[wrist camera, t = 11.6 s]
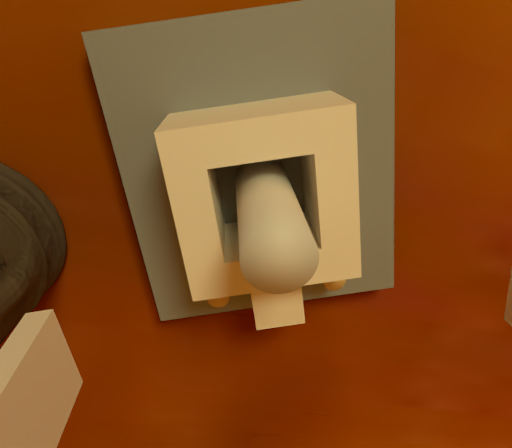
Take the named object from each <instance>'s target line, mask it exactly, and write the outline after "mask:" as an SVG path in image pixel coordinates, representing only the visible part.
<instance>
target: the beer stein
mask: <svg viewBox="0 0 512 448" xmlns="http://www.w3.org/2000/svg"><path fill="white" fill-rule="evenodd" d="M66 246H67V245H66V238H65V230H64V227H63V223H62V221H61V219H60V217H59V215H58V213H57V211H56V209H55V207H54V205H53V204H52V203H51V201H50V200H49V199H48V198H47V196H46V195H45V194H44V193H43V192H42V191H41V190H40V189H39V188H38V187H37V186H36V185H34V184H33V183H32V182H31V181H30V180H29V179H28V178H27V177H25V176H23V175H22V174H20V173H18V172H16V171H15V170H13V169H11V168H9V167H7V166H6V165H4V164H2V163H0V344H1V343H2V342H3V340H4V339H5V338H6V336H7V335H8V334H9V333H10V331H11V330H12V329H13V328H14V327H15V325H16V324H17V323H18V322H19V321H20V320H21V319H22V318H23V316H24V315H25V313H30V312H31V311H32V310H33V309H34V308H35V307H36V306H37V305H38V303H39V301H40V299H41V297H42V295H43V294H44V293H45V292H46V291H47V290H48V289H49V288H50V287H51V286H52V285H53V283H54V282H55V280H56V279H57V278H58V276H59V274H60V272H61V270H62V268H63V265H64V262H65V254H66Z"/></svg>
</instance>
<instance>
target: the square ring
mask: <svg viewBox="0 0 512 448" xmlns="http://www.w3.org/2000/svg"><path fill="white" fill-rule="evenodd" d="M154 135H155V139H156V144H157V148H158V152H159V157H160V161H161V166H162V170H163V174H164V179H165V183H166V187H167V192H168V196H169V200H170V205H171V209H172V213H173V218H174V222H175V226H176V231H177V235H178V239H179V244H180V248H181V252H182V257H183V261H184V265H185V270H186V274H187V278H188V283H189V287H190V291H191V296H192V300H193V302H194V301H201V300H208V299H215V298H222V297H229V296H236V295H243V294H250V293H251V299H252V305H253V311H254V317H255V323H256V330H261V329H268V328H275V327H282V326H289V325H296V324H303V323H305V316H304V306H303V296H302V287H301V288H299V289H297V290H295V291H292V292H289V293H284V294H270V293H266V292H263V291H260V290H258V289H256V288H255V287H253V286H252V285H251V284H250V283H248V281H247V280H246V279H245V277H244V276H243V274H242V271H241V268H240V260H239V240H238V222H234V223H227V224H225V221H224V215H223V210H222V204H221V198H220V193H219V187H218V181H217V176H216V170H215V168H220V167H227V166H234V165H241V164H248V163H255V162H262V161H269V160H276V159H283V158H290V157H297V156H300V160H301V171H302V182H303V193H304V204H305V212H303V214H304V216H305V219H306V221H307V223H308V226H309V228H310V230H311V233H312V235H313V237H314V240H315V242H316V244H317V247H318V250H319V264H318V267H317V270H316V272H315V274H314V275H313V277H312V278H311V279H310V280H309V281H308V282H307V283H306V284H305V285H312V284H319V283H326V282H333V281H339V280H346V279H353V278H360V277H362V274H361V242H360V211H359V179H358V148H357V116H356V103H354V102H352V101H351V100H349V99H347V98H345V97H343V96H341V95H339V94H337V93H335V92H333V91H331V90H330V91H323V92H316V93H309V94H302V95H295V96H288V97H281V98H274V99H267V100H261V101H254V102H247V103H240V104H233V105H226V106H219V107H212V108H205V109H198V110H191V111H184V112H177V113H170V114H168V115H167V116H166V118H165V119H164V120H163V121H162V123H161V124H160V125H159V127H158V128H157V129H156V130H155V132H154ZM305 285H304V286H305Z"/></svg>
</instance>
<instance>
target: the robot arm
mask: <svg viewBox="0 0 512 448" xmlns="http://www.w3.org/2000/svg"><path fill="white" fill-rule="evenodd" d="M504 319H505V320H506V322H507V323H508V324H509V325H510V326H511V327H512V269H511V276H510V283H509V289H508V296H507V302H506V309H505V315H504ZM82 383H83V381H82V378H81V376H80V373H79V371H78V369H77V366H76V364H75V361H74V359H73V357H72V354H71V352H70V349H69V347H68V344H67V342H66V340H65V337H64V335H63V332H62V330H61V327H60V325H59V323H58V320H57V318H56V315H55V313H54V311H53V309H50V310H43V311H36V312H30V313H25V315H24V316H23V318H22V319H21V320H20V322H19V323H18V325H17V326H16V328H15V329H14V331H13V332H12V333H11V335H10V336H9V338H8V339H7V341H6V342H5V343H4V345H3V346H2V348H1V349H0V448H57V445H58V443H59V440H60V438H61V435H62V433H63V430H64V428H65V425H66V423H67V420H68V418H69V415H70V413H71V410H72V408H73V405H74V403H75V400H76V398H77V395H78V393H79V390H80V388H81V385H82Z"/></svg>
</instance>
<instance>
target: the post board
mask: <svg viewBox="0 0 512 448" xmlns="http://www.w3.org/2000/svg"><path fill="white" fill-rule="evenodd" d="M81 33H82V37H83V40H84V44H85V48H86V51H87V55H88V59H89V62H90V66H91V69H92V73H93V77H94V80H95V84H96V88H97V91H98V95H99V99H100V102H101V106H102V109H103V113H104V117H105V120H106V124H107V128H108V131H109V135H110V138H111V142H112V146H113V149H114V153H115V157H116V160H117V164H118V168H119V171H120V175H121V178H122V182H123V186H124V189H125V193H126V197H127V200H128V204H129V208H130V211H131V215H132V218H133V222H134V226H135V229H136V233H137V237H138V240H139V244H140V248H141V251H142V255H143V258H144V262H145V266H146V269H147V273H148V277H149V280H150V284H151V288H152V291H153V295H154V298H155V302H156V306H157V309H158V313H159V317H160V320H161V321H165V320H172V319H179V318H186V317H193V316H200V315H207V314H213V313H220V312H227V311H234V310H241V309H248V308H253V305H252V299H251V293H250V294H243V295H236V296H229V297H222V298H215V299H208V300H201V301H194V302H193V300H192V296H191V291H190V287H189V283H188V278H187V274H186V270H185V265H184V261H183V257H182V252H181V248H180V244H179V239H178V235H177V231H176V226H175V222H174V218H173V213H172V209H171V205H170V200H169V196H168V192H167V187H166V183H165V179H164V174H163V170H162V166H161V161H160V157H159V152H158V148H157V144H156V139H155V135H154V132H155V130H156V129H157V128H158V127H159V125H160V124H161V123H162V121H163V120H164V119H165V118H166V116H167V115H168V114H170V113H177V112H184V111H191V110H198V109H205V108H212V107H219V106H226V105H233V104H240V103H247V102H254V101H261V100H267V99H274V98H281V97H288V96H295V95H302V94H309V93H316V92H323V91H330V90H331V91H333V92H335V93H337V94H339V95H341V96H343V97H345V98H347V99H349V100H351V101H352V102H354V103H356V116H357V148H358V179H359V211H360V242H361V274H362V277H360V278H353V279H346V280H339V281H333V282H326V283H319V284H312V285H305V284H306V283H307V282H308V281H309V280H310V279H311V278H312V277H313V275H314V274H315V272H316V270H317V267H318V264H319V250H318V247H317V244H316V242H315V240H314V237H313V235H312V233H311V230H310V228H309V226H308V223H307V221H306V219H305V216H304V214H303V212H305V204H304V193H303V182H302V171H301V160H300V156H297V157H290V158H283V159H276V160H269V161H262V162H255V163H248V164H241V165H234V166H227V167H220V168H215V170H216V176H217V181H218V187H219V193H220V198H221V204H222V210H223V215H224V221H225V224H227V223H234V222H238V240H239V260H240V268H241V271H242V274H243V276H244V277H245V279H246V280H247V281H248V283H250V284H251V285H252V286H253V287H255V288H256V289H258V290H260V291H263V292H266V293H270V294H284V293H289V292H292V291H295V290H297V289H299V288H301V287H302V296H303V300H310V299H317V298H323V297H330V296H337V295H344V294H351V293H358V292H365V291H372V290H378V289H385V288H392V287H394V116H395V0H303V1H296V2H289V3H282V4H275V5H268V6H261V7H254V8H247V9H240V10H233V11H226V12H220V13H213V14H206V15H199V16H192V17H185V18H178V19H171V20H164V21H157V22H150V23H143V24H136V25H129V26H122V27H115V28H108V29H101V30H94V31H87V32H81ZM304 285H305V286H304Z"/></svg>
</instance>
